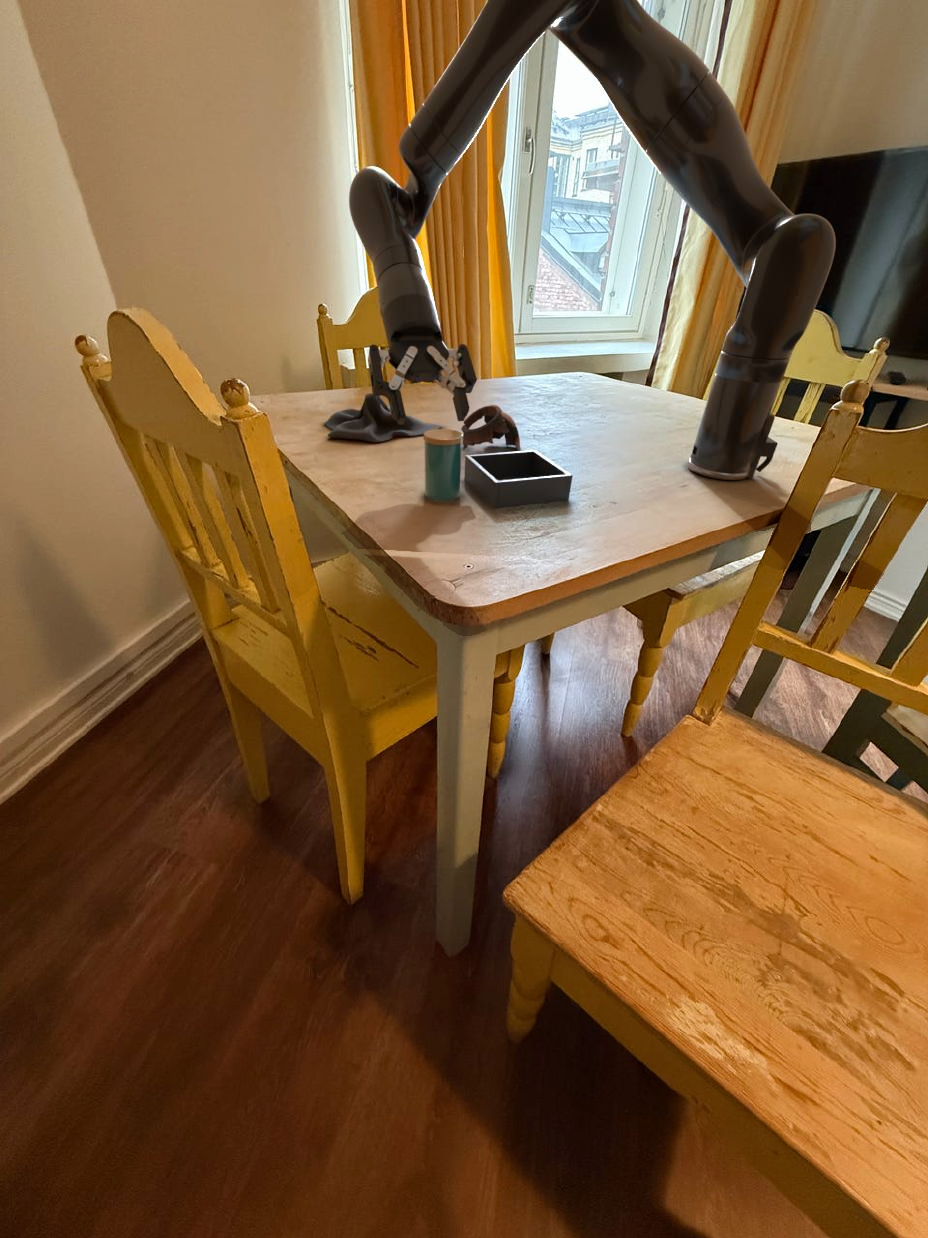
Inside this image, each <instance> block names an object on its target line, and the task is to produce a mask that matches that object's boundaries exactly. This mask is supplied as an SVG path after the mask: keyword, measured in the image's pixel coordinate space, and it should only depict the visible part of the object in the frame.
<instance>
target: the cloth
mask: <svg viewBox="0 0 928 1238" xmlns="http://www.w3.org/2000/svg"><path fill="white" fill-rule="evenodd" d="M405 415H406V418H405V421H404V424H398V422H397V420H394V419H393V418H392V415H391V410H390V407H389V406H388V404H387V403H386V402H385V401H384V400H383V399H382V397H381V395H380V396H379V397H377V396H374V395H373V392H371V393H367V394H365V396H364V400H363V404H362V406H361V407H360V409H356V408H350V407H349V408H345V409H342V410H339V411H336V412H334V413H333V414H331V415H330V416H329V418H328V419H327V420H326V421H325V422H323V424H324V426H326V427H327V428H328V429H330V430H331V431H330V432H329V433H328V434H327V437H328V438H330V439H343V440H345V439H346V440H356V441H357V440H358V441H363V442H364V441H365V442H370V443H382V442H388V441H390V440H392V439H393V438H395V437H417V436H424V433H425V432H426V431H429V430H433V429H443V426H442V425H438V424H433V423H427V422H424V421H421V420H419V419H417V418H415V417H413V416H412V415H407V414H406V413H405Z"/></svg>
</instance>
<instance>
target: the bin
mask: <svg viewBox="0 0 928 1238" xmlns="http://www.w3.org/2000/svg"><path fill="white" fill-rule="evenodd" d="M464 459H465V460H464V481H465V482H466V483H467V484H468V485H469V486H470V487H471V488H472V489H473V490H474V492H476V493H477V494H478V495H479V496H480V497H481V498H482V499H483V500H484V501H485V502H486V503H487V504H488V505H489V506H490V507H491V508H492V509H493V510H498V509H506V508H515V507H524V506H533V505H541V504H551V503H560V502H569V500H570V494H571V488H572V483H573V474H571V473H570V472H569V471H567V470H565V469H564V468H562V467H561V466H559V465H558V464H556V463H555V462H554V461H552V460H551V459H550V458H548V457H546V456H544V455H543V454H542V453H540V451H537V450H536V449H532V450H520V451H517V452H516V451H507V452H506V451H505V452H493V453H479V454H466V455H465V457H464Z"/></svg>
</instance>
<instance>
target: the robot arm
mask: <svg viewBox="0 0 928 1238" xmlns="http://www.w3.org/2000/svg"><path fill="white" fill-rule="evenodd" d="M547 30H548V31H549V32H550V33H551V34H552V35H553V36H555V38H557V39H558V40H559V42H561V43H562V44H563V45H564V46H565V47H566V48H567V49H568V50H569V51H570V52H571V53H572V54H573V55H574V56H575V58H576V59H578V60H579V61H580V62H581V64H583V65H584V67H585V68H586V70H588V71H589V73H590V74H591V76H593V77H594V79H595V80H596V81H597V82H598V84H599V85H600V87H601V88H602V90H603V91H604V93H605V94H606V97H607V98H608V100H609V102H610V103H611V105H612V107H613V109H614V110H615V112H616V114H617V115H618V116H619V118H620V119H621V121H622V123H623V125H624V126H625V127H626V129H627V130H628V132H629V134H630V135H631V136H632V138H633V139H634V140H635V141H636V143H637V144H638V146H639V148H640V149H641V150H642V152H643V153H644V154H645V156H646V157H647V158H648V160H649V161H650V162H651V163H652V165H653V166H654V167H655V169H656V170H657V171H658V173H659V174H660V175H661V176H662V178H663V179H664V180H665V181H666V182H667V183H668V184H669V185H670V186H671V188H672V189H673V190H674V191H675V192H676V193H677V195H678V196H679V197H680V198H681V199H682V200H683V201H684V202H685V204H686V205H687V206H688V207H689V208H690V209H691V210H692V211H693V212H694V213H695V214H696V215H697V216H698V217H699V218H700V219H701V220H702V221H703V222H704V223H705V225H706V226H707V227H708V228H709V229H710V230H711V232H712V233H713V234H714V236H715V238H716V239H717V240H718V242H719V244H720V245H721V247H722V248H723V250H724V252H725V253H726V255H727V257H728V258H729V260H730V262H731V263H732V266H733V267H734V269H735V271H736V272H737V275H738V276H739V278H740V279H741V280H740V281H742V283H743V285H744V286H745V288H746V290H745V293H744V297H743V300H742V303H741V306H740V309H739V312H738V315H737V317H736V319H735V321H734V323H733V324H732V326H731V327H730V329H729V330H728V331H727V333H726V335H725V337H724V340H723V343H722V344H723V345H722V347H721V351H720V354H719V358H718V361H717V366H716V368H715V372H714V375H713V378H712V381H711V385H710V389H709V392H708V396H707V400H706V402H705V407H704V410H703V413H702V416H701V420H700V423H699V426H698V430H697V433H696V437H695V440H694V443H693V444H692V445H691V450H690V458H689V459H688V462H687V468H688V469H689V470H690V471H692V472H693V473H696V474H698V475H700V476H704V477H706V478H711V479H716V480H725V481H739V480H745V479H753V478H754V476H755V473H756V471H757V472H758V473H762V471H763V470H764V469H765V468H766V467H768V466H769V465H770V463H771V462H772V460H773V458H774V455H775V452H776V450H777V446H778V442H777V441H775V440H774V439H773V438H771V437H769V435H770V433H771V431H772V428H773V425H774V422H775V419H776V418H775V417H776V416H775V414H773V413H772V410H773V408H774V405H775V401H776V399H777V396H778V394H779V391H780V387H781V385H782V382H783V380H784V377H785V374H786V371H787V369H788V366H789V362H790V360H791V358H792V355H793V352H794V349H795V347H796V345H797V344H798V343H799V341H800V340H801V339H802V337H803V336H804V334H805V332H806V331H807V328H808V326H809V324H810V322H811V319H812V316H813V314H814V312H815V309H816V306H817V305H818V302H819V299H820V297H821V294H822V292H823V290H824V287H825V285H826V282H827V279H828V276H829V273H830V271H831V268H832V265H833V261H834V257H835V252H836V243H837V242H836V241H837V240H836V234H835V231H834V228H833V226H832V224H831V223H830V221H828V220H827V219H826V218H824V217H823V216H822V215H819V214H815V213H800V214H795V213H794V212H792V211H791V210H790V209H789V208H788V207H787V206H786V204H784V203H783V202H782V201H781V200H780V198H779V197H778V196H777V195H776V193H775V191H773V190H772V188H771V187H770V186H769V185H768V183H767V182H766V181H765V179H764V178H763V176H762V174H761V173H760V171H759V169H758V166H757V165H756V160H755V158H754V155H753V152H752V149H751V147H750V143H749V140H748V136H747V134H746V131H745V129H744V126H743V123H742V121H741V119H740V116H739V114H738V111H737V110H736V108H735V106H734V104H733V103H732V101H731V99H730V97H729V96H728V95H727V94H726V91H724V89H723V88H722V85H721V84H720V83H719V82H718V80H717V79H716V78H715V76H714V75H713V73H712V72H711V71H710V69H709V67H707V65H706V64H705V63H704V62H703V60H702V59H701V57H699V56H698V55H697V54H696V52H694V51H693V49H692V48H690V47H689V46H688V45H687V44H686V43H685V42H684V41H682V40H681V39H680V38H679V37H678V36H676V34H673V33H672V32H671V31H669V30H668V29H667V28H666V27H664V26H663V25H662V24H660V23H659V22H658V21H657V20H655V19H654V18H653V17H652V16H651V15H650V14H649V13H648V12H647V10H646V9H645V8H644V7H643V6H642V4H641V3H640V2H639V0H486V2H485V3H484V6H483V7H482V8H481V11H480V13H479V15H478V16H477V18H476V20H475V22H474V23H473V25H472V27H471V29H470V30H469V32H468V34H467V35H466V37H465V39H463V42H462V44H461V45H460V47H459V49H458V50H457V52H456V53H455V54H454V56H453V58H452V59H451V61H450V62H449V64H448V65H447V67H446V68H445V70H444V71H443V73H442V75H441V76H440V78H439V79H438V81H437V82H436V84H435V85H434V86H433V88H432V90H431V91H430V92H429V93H428V96H427V97H426V98H425V100H423V103H422V104H421V106H420V107H419V108H418V110H417V111H416V113H415V114H414V116H413V117H412V119H411V120H410V122H409V123H408V125H407V126H406V128H405V130H404V131H403V133H402V134H401V136H400V138H399V140H398V144H397V145H398V147H397V149H398V152H399V155H400V158H401V160H402V162H403V163H404V164H405V167H406V169H407V170H408V171H409V173H408V177H407V181H406V184H405V186H404V187H402V186H401V185H400V184H399V183H398V182H397V181H396V180H395V179H394V178H392V177H391V176H390V174H388V173H387V172H386V171H385V170H383V169H382V168H380V167H377V166H372V165H371V166H365V167H363V168H361V169H360V170H359V171H358V172H357V173H356V174H355V175H354V177H353V179H352V181H351V184H350V189H349V193H348V194H349V195H348V205H349V206H348V207H349V213H350V216H351V220H352V223H353V226H354V228H355V231H356V232H357V235H358V237H359V239H360V242H361V244H362V245H363V249H364V250H365V253H366V254H367V256H368V258H369V259H370V261H371V264H372V268H373V273H374V278H375V282H376V287H377V294H378V304H379V313H380V317H381V319H382V323H383V328H384V331H385V337H386V340H387V341H386V342H387V346H388V349H380V348H379V346H378V345H376V344H375V343H374V344H370V345H369V350H368V356H367V365H368V370H369V378H370V385H371V393H373V395H374V396H377V397H379V396H380V397H381V396H382V397H385V398H386V399H387V401H388V405H389V409H390V410H391V415H392V418H393V419H394V420H397V422H398V424H404V421H405V418H406V416H407V414H406V410H405V406H404V402H403V397H402V392H401V390H402V389H403V387H404V385H405V384H406V382H407V381H408V382H410V383H411V384H419V383H427V384H434V382H435V383H436V384H437V385H439V386H440V387H441V389H445V390H447V391H448V392H449V393H450V395H452V402H453V406H454V410H455V411H454V412H455V414H456V420H457V422H464V420H465V419H466V418H467V417H468V414H469V412H470V403H469V400H468V395H467V394H471V393H472V392H473V389H474V388H475V385H476V383H477V381H478V378H477V375H476V372H475V371H476V370H475V368H474V365H473V361H472V358H471V355H470V352H469V348H468V346H467V345H466V344H464V343H461V344H459V346H458V348H449V349H448V347H447V346H446V345H445V343H444V341H443V340H444V339H443V333H442V329H441V325H440V321H439V316H438V312H437V307H436V304H435V299H434V295H433V291H432V288H431V285H430V283H429V279H428V277H427V273H426V269H425V266H424V261H423V257H422V254H421V250H420V247H419V245H418V242H417V241H416V239H417V238H418V236H419V235H420V233H421V232H422V229H423V226H424V224H425V221H426V219H427V217H428V215H429V212H430V209H431V208H432V206H433V203H434V201H435V199H436V197H437V194H438V192H439V190H440V187H441V185H442V183H443V181H444V180H445V178H446V177H447V176H448V175H449V173H450V172H452V169H454V167H455V166H456V165H457V163H458V161H459V160H460V159H461V158H462V156H463V155H464V153H465V152H466V150H468V148H469V147H470V145H472V143H473V141H474V139H475V138H476V136H477V135H478V133H479V132H480V130H481V128H482V127H483V124H484V122H485V121H486V119H487V118H488V115H489V114H490V112H491V110H492V109H493V106H494V104H495V102H496V101H497V99H498V97H499V96H500V93H501V91H502V90H503V88H504V86H505V85H506V83H507V82H508V80H509V79H510V77H511V76H512V74H513V72H514V71H516V69H517V67H518V65H519V64H520V62H521V61H522V60H523V58H524V57H525V56H526V54H527V53H528V52H529V51H530V50H531V48H532V47H533V46H534V45H535V43H536V42H538V40H540V38H541V37H542V36H543V35H544V34H545V32H546V31H547ZM449 361H450V362H452V364H453V365H452V364H451V363H450V362H449ZM386 362H388V363H389V364H390V366H392V367H393V368H394V369H395V373H394V374H393V376H392V378H391V380H390V381H385V380H384V374H383V368H384V367H385V364H386ZM455 368H456V369H457V371H458V373H457V372H456V370H455ZM442 372H443V374H442ZM405 414H406V415H405ZM762 457H763V458H765V459H764V461H762V463H760V461H761V458H762ZM759 463H760V464H759ZM758 464H759V465H758Z"/></svg>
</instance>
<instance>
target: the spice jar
mask: <svg viewBox="0 0 928 1238" xmlns="http://www.w3.org/2000/svg"><path fill="white" fill-rule="evenodd" d="M423 441H424V495H425V497H426V498H428V499H430V500H433V501H440V502H444V501H445V502H446V501H453V500H456V499H458V498H459V497H460V496H461V469H462V445H463V432H460V431H458V430H456V429H455V430H454V429H449V428H440V429H433V430H429V431H426V432H425V433H424V434H423Z"/></svg>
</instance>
